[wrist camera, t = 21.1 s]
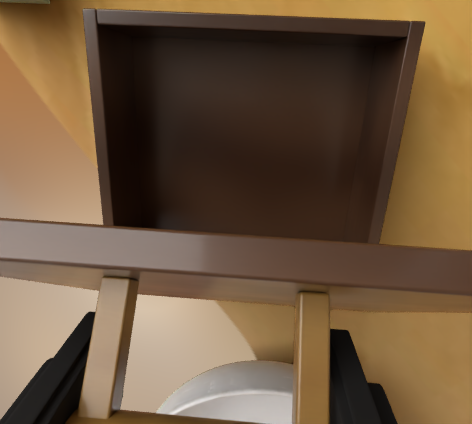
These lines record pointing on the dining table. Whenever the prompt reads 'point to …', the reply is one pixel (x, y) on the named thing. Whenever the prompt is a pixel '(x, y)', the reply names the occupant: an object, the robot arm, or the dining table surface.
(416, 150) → the dining table surface
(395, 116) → the box
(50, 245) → the lid
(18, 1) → the block
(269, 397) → the serving bowl
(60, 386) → the robot arm
